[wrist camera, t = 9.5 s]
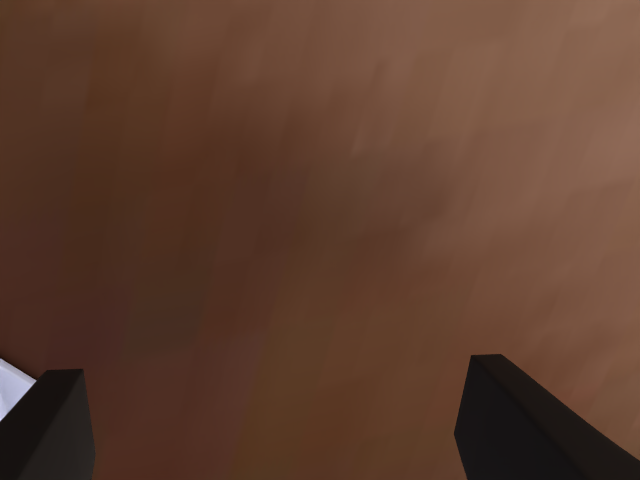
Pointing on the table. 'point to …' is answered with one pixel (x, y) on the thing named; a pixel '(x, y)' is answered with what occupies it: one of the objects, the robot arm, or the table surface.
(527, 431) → the robot arm
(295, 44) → the table surface
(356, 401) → the table surface
